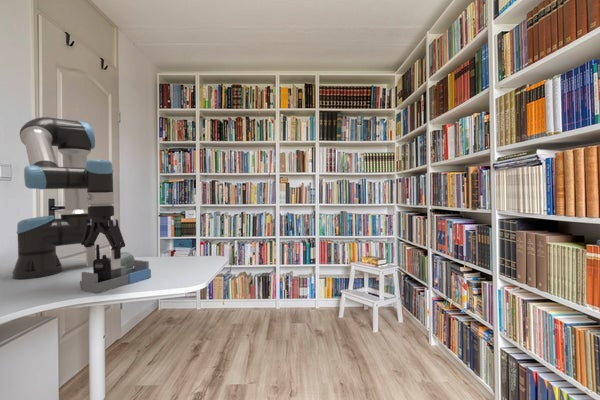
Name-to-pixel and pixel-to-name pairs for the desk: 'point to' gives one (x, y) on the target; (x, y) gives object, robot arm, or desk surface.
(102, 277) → the two-way radio
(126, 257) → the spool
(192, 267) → the desk surface
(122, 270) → the blue-ended grey tray
